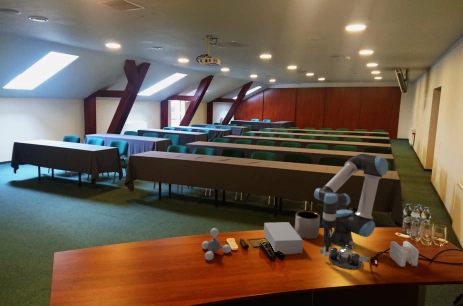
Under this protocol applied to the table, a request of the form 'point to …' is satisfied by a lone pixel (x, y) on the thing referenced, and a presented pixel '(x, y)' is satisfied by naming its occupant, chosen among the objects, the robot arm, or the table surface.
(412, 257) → the cable organizer
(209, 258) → the molecule model
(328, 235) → the robot arm
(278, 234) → the box
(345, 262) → the tribrach base
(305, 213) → the planter
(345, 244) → the screw
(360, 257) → the screw
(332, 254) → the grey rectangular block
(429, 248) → the table surface
